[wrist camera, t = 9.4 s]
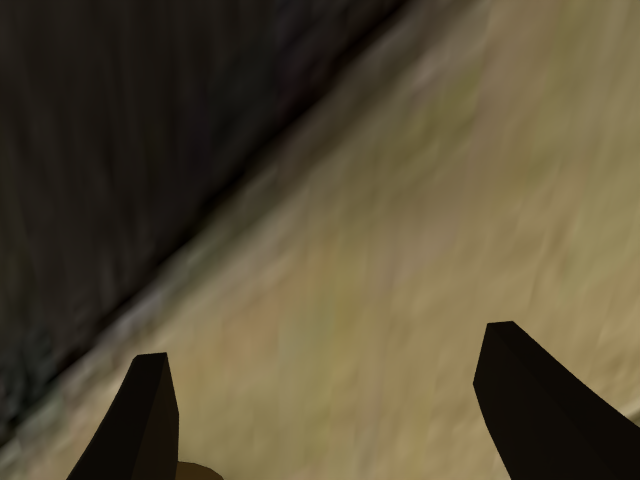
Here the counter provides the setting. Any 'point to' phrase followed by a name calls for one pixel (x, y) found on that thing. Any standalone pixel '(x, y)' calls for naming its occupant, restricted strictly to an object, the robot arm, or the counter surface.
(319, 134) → the counter surface
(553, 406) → the robot arm
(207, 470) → the cork
